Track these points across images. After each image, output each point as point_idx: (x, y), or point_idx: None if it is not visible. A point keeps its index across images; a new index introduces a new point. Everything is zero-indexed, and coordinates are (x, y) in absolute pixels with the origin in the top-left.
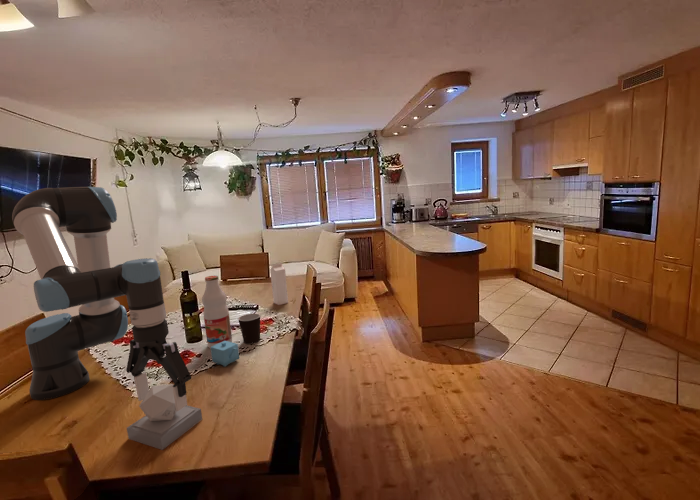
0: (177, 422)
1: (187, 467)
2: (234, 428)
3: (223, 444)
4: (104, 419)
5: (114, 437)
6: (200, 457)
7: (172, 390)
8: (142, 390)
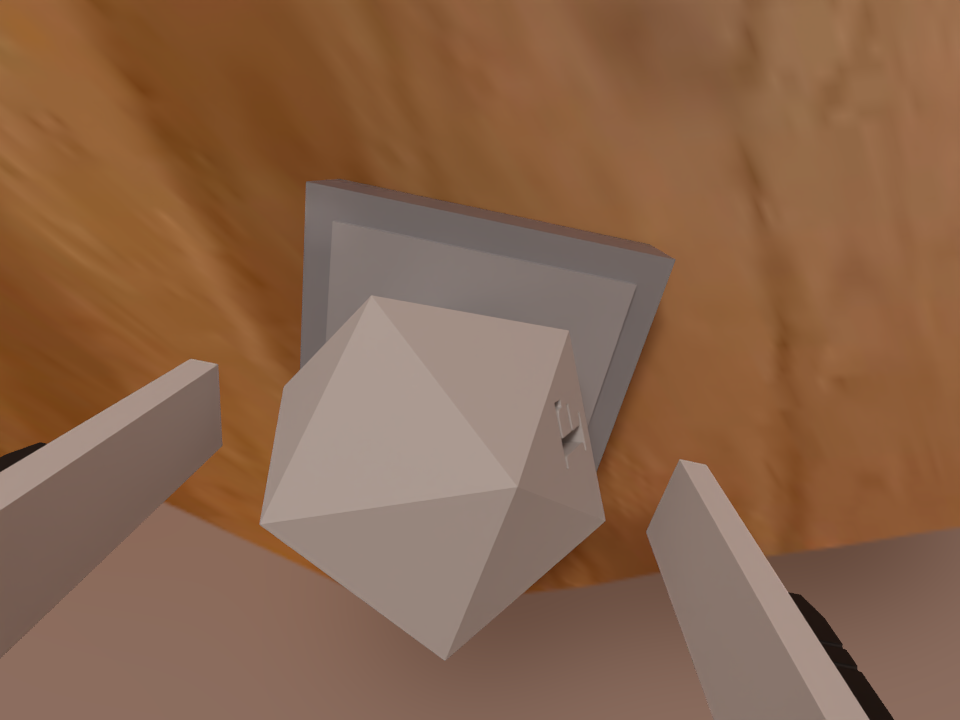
0: (587, 423)
1: None
2: (925, 308)
3: (886, 435)
4: (8, 315)
5: (240, 436)
6: (788, 513)
7: (550, 507)
8: (160, 469)
